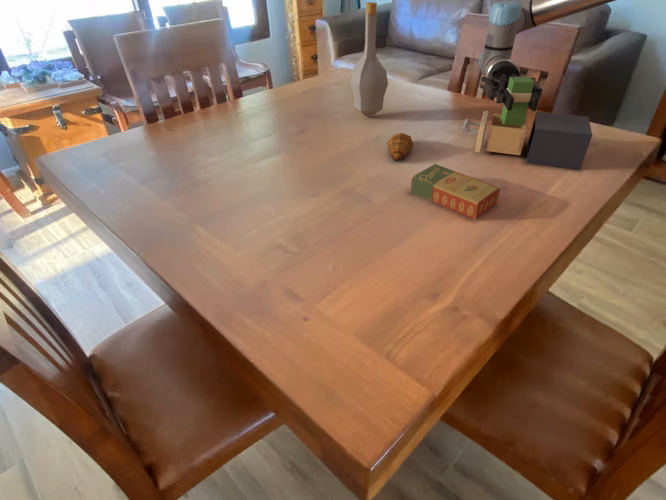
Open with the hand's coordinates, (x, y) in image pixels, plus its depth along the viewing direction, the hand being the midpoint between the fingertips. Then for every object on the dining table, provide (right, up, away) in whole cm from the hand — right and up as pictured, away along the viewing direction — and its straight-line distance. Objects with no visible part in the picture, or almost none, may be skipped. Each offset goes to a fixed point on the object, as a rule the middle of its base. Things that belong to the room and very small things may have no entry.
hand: (523, 104), depth 96 cm
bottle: (-32, +7, +33) cm, 47 cm away
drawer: (-3, -6, +13) cm, 14 cm away
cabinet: (+11, -10, +9) cm, 17 cm away
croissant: (-26, -8, +13) cm, 30 cm away
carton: (-18, -22, -5) cm, 29 cm away
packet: (+1, -1, +8) cm, 8 cm away
